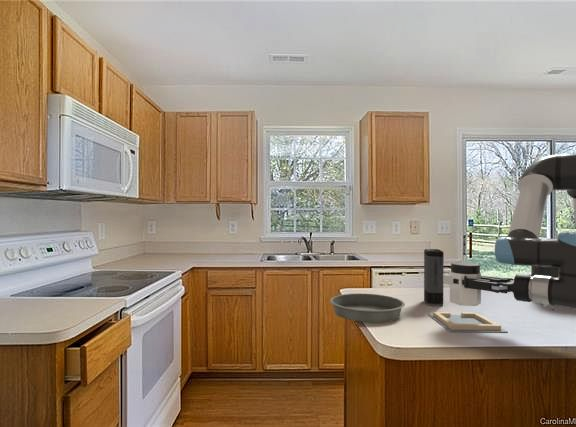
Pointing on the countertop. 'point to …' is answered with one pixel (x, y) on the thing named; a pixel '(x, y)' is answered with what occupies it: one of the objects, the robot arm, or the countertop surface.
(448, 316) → the beige flat piece
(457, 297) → the jar
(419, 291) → the countertop surface
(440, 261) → the electronic device
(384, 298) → the cake pan
